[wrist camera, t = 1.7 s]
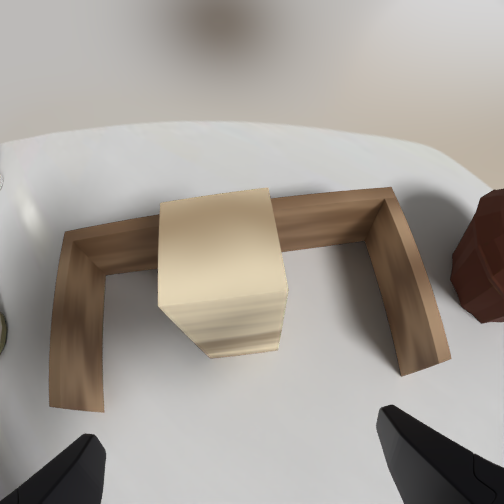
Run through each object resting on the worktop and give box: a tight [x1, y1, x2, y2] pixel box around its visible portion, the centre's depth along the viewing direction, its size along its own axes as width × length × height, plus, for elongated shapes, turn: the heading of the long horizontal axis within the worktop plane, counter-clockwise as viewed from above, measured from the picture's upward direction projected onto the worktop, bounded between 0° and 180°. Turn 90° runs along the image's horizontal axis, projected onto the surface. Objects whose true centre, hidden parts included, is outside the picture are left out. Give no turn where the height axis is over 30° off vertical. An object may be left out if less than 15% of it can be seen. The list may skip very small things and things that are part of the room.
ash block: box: [158, 188, 288, 358], centre depth 18 cm, size 5×5×12 cm
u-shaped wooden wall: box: [49, 187, 451, 412], centre depth 21 cm, size 13×25×6 cm, turn 97°
